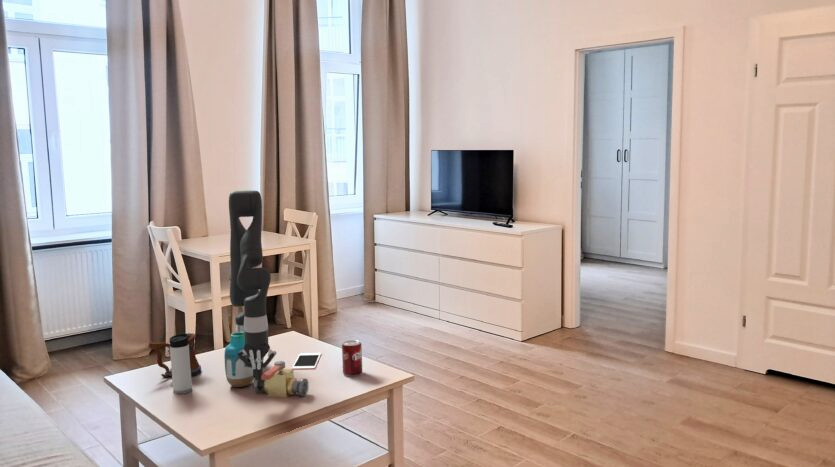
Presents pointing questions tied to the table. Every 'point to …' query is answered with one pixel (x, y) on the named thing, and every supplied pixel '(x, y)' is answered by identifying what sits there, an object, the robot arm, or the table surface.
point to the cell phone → (306, 361)
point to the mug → (193, 361)
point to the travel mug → (180, 363)
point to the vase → (237, 362)
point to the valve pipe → (282, 384)
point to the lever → (273, 370)
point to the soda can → (352, 358)
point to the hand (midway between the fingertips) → (258, 379)
